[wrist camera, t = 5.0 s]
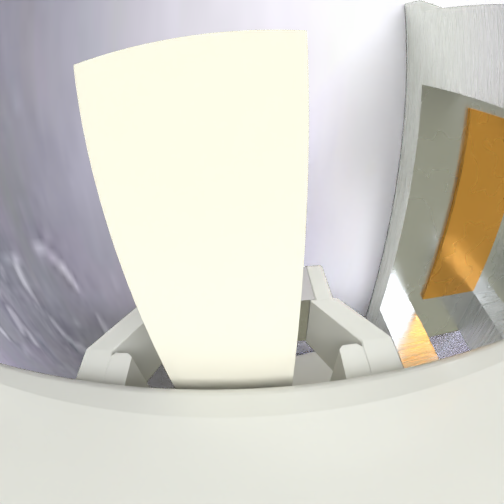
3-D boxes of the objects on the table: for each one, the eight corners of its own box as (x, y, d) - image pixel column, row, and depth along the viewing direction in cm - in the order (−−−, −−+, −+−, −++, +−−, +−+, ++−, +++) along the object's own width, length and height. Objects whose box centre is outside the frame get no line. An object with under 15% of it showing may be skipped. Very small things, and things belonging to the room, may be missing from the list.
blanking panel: (260, 58, 9) (306, 30, 2) (269, 332, 17) (280, 466, 10) (190, 64, 9) (73, 64, 2) (226, 335, 17) (222, 468, 10)
